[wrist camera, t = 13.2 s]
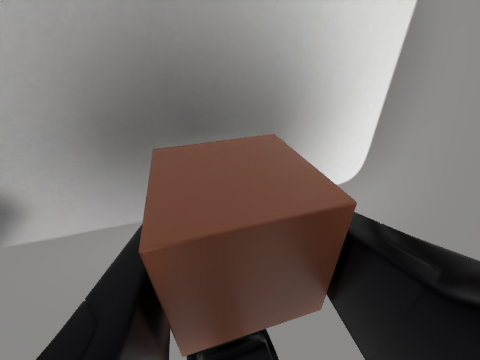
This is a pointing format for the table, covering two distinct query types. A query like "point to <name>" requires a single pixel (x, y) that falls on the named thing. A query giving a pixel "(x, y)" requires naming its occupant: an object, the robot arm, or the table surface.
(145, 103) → the table surface
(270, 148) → the block
